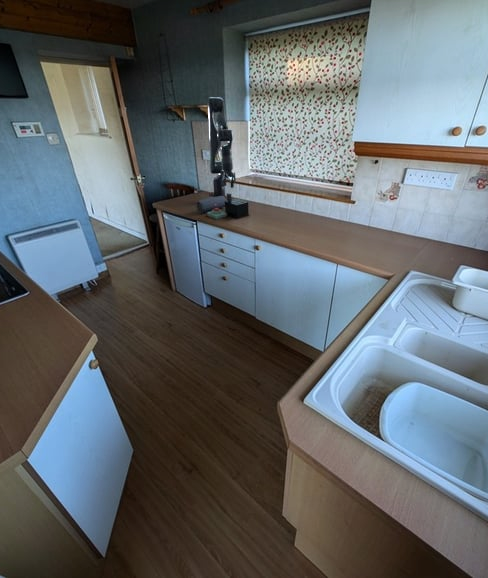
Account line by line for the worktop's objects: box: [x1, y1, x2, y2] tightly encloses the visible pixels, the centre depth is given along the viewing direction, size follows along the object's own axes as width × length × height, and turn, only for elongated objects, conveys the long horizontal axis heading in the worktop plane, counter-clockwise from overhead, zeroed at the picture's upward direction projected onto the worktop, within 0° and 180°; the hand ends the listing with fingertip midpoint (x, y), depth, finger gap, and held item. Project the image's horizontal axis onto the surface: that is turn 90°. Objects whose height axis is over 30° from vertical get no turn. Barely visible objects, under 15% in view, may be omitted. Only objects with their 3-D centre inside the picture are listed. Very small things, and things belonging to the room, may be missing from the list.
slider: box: [226, 192, 232, 201], centre depth 213 cm, size 2×2×5 cm
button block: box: [206, 209, 228, 220], centre depth 216 cm, size 12×10×4 cm
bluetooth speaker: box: [196, 196, 227, 213], centre depth 226 cm, size 23×9×10 cm, turn 132°
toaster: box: [224, 198, 250, 220], centre depth 216 cm, size 14×11×10 cm
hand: (228, 186), depth 209 cm, fingers open, 8 cm apart
